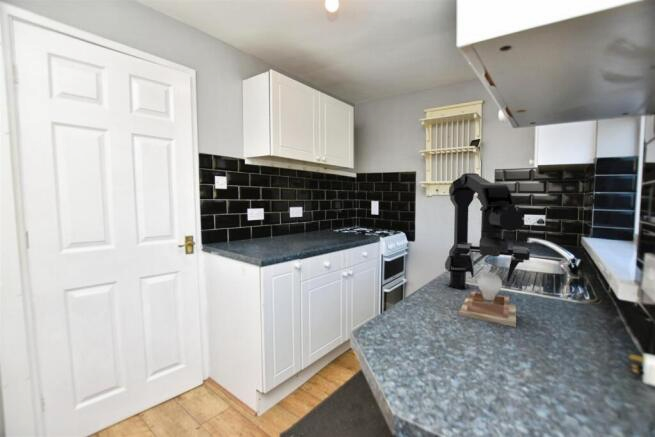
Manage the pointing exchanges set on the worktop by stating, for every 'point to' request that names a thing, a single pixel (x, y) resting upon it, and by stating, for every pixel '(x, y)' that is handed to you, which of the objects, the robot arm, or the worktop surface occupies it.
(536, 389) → the worktop surface
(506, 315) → the holder
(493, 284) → the lightbulb
